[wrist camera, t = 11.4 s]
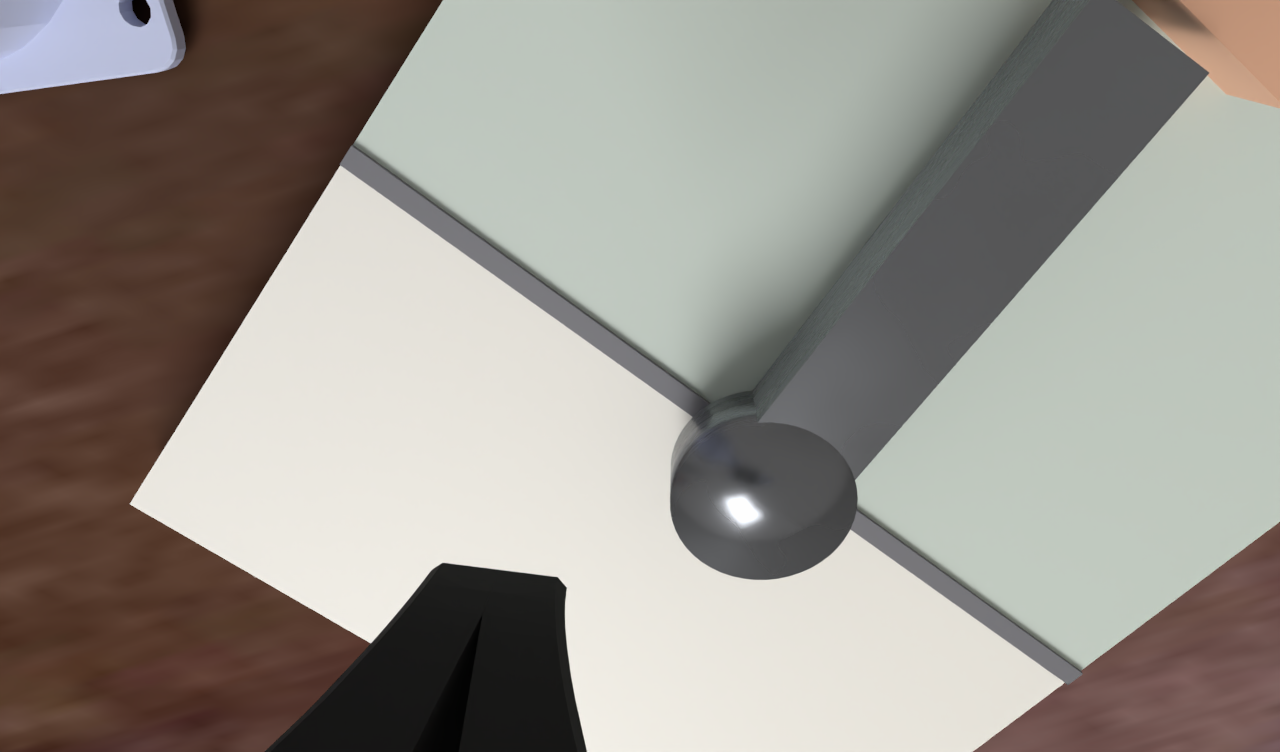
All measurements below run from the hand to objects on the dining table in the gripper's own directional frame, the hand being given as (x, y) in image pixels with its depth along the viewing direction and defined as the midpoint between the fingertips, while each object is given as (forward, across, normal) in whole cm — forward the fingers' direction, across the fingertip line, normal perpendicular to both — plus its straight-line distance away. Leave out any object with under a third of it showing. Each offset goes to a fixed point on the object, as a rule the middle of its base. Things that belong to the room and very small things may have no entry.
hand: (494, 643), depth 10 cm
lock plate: (+9, -4, 0) cm, 10 cm away
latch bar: (+7, -5, -2) cm, 9 cm away
